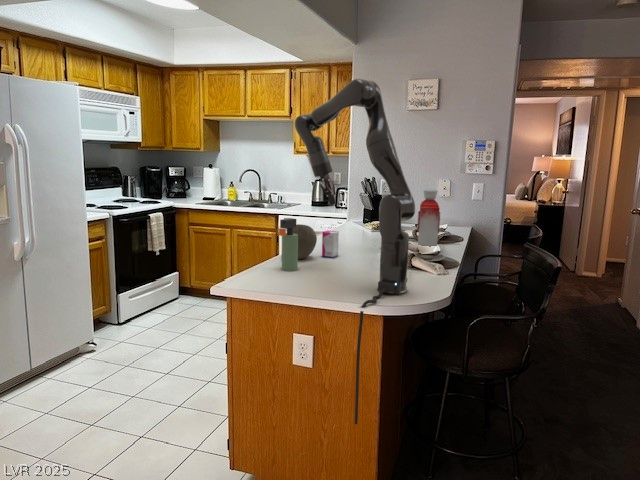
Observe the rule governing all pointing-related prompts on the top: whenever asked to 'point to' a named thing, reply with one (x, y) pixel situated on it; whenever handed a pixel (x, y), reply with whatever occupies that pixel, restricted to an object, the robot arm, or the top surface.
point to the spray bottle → (289, 245)
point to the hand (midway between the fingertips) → (333, 204)
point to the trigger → (282, 232)
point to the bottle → (428, 219)
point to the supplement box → (330, 244)
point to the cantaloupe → (305, 240)
